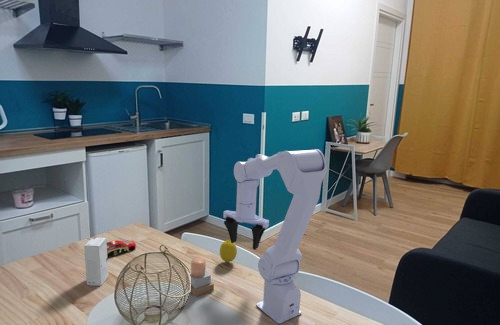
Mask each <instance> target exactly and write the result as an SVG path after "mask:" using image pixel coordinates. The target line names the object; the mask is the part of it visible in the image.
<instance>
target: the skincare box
mask: <svg viewBox="0 0 500 325" xmlns="http://www.w3.org/2000/svg"><path fill="white" fill-rule="evenodd" d="M106 243H107V237H92V238H90V239H89V240H88V241H87V242H86V244H84V246H83V249H84V250H83V251H84V261H85V262H84V264H85V265H84V266H85V277H86V285H87V286H92V287H94V286H98V287H99V286H102V285H104V283H105V281H106V280H107V279H108V277H109V264H108V263H109V262H108V261H109V260H108V259H109V258H107V244H106Z"/></svg>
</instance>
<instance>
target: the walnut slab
mask: <svg viewBox="0 0 500 325" xmlns="http://www.w3.org/2000/svg"><path fill="white" fill-rule="evenodd" d="M214 287H215V284H214V283H213V282H212V281H211V283H210V284H207V285H204V286H201V287H198V288H194V287H193V286H192V285H191V293H190V294H191V295H192V296H193V295H194V296H195V297H194V296H193V297H194V298H196V297H200V296H202V295H205V294H208V293H210V292H213V291H215V290H214Z"/></svg>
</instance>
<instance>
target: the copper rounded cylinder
mask: <svg viewBox="0 0 500 325" xmlns="http://www.w3.org/2000/svg"><path fill="white" fill-rule="evenodd" d="M206 263H207V262H206V259H205V258H202V257H196V258H193V259H192V260H191V261H190V271H191V276H192V277H194V278H201V277H204V276H205V271H206Z"/></svg>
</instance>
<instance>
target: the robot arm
mask: <svg viewBox="0 0 500 325" xmlns="http://www.w3.org/2000/svg"><path fill="white" fill-rule="evenodd" d="M328 169H329V168H328V165H327V161H326V157H325V154H323V152H322V151H321V150H320V149H318V148H317V149H316V148H314V149H308V150H307V149H306V150H303V149H302V150H290V151H289V150H284V151H278V152H277V153H275V154H273V155H272V156H267V155H263V154H262V153H261V154H259V153H258V154H256V155H255V158H253V157H250V158H248V159H247V160H246V161H237V162H236V163H235V164H234V167H233V176H234V178H235V181H236V205H235V207H236V209H235V211H234V210H228V209H227V210H224V211H223V213H222V215H223V217H222V218H223V219H225V220H224V221H223V224H224V226H225V228H226V229H227V230H226V231H228V235H229V240H230V241H231V243H236V242H237V239H238V227H239V223H245V224H250V225H254V226H253V227H252V228H251V232H252V250H257V249H258V248H259V244H260V241H261V240H262V236H263V234H264V233H265V231H266V229H267V228H269V226H270V220H269V219H265V218H264V217H261V216H259V215H257V214H256V213H257V212H256V211H257V210H256V208H257V192H258V187H259V185H260V180H261V179H262V178H266V177H269V176H270V175H272V173H273V171H274V170H277V171H278V172H279V175H280V176H281V179H282V182H283V183H284V185H285V188H286V190H287V192H289V193H290V194H292V195H293V197H292V199H291V202H290V204H289V207H288V209H287V212H286V214H285V217H284V219H283V223H282V225H281V227H280V230H279V233H278V235H277V238H276V240H275V243H274V244H273V245H272V246H270V247H268V248H267V249H265V251H264V252H263V254H262V255H261V256H260V257H259V259H258V262H257V268H258V272H259V275H260V276H261V278H262V279H263V280H264V283H263V300H261V301H259V302H256V305H255V306H256V307H258V308H259V309H260V310H261V311H262V312H263V313H265V314H266V315H267V316H268V317H270V318H271V319H272V320H273V321H274V322H276V323H277V324H282V323H284V322H286V321H288V320H290V319H292V318H296V317H297V316H299V315H301V314H302V311H301V310H300V306H301V304H300V303H301V294H302V292H301V289H299V287H298V286H297V285H296V284H295V282H294V279H295V278H296V274H298V273H299V272H300V270H301V262H302V261H301V260H302V258H303V254H302V252H301V250H300V249H299V246H300V244H301V242H302V239H303V237H304V235H305V232H306V230H307V227H308V225H309V223H310V221H311V219H312V216H313V214H314V211H315V209H316V207H317V205H318V202H319V201H320V197H321V196H320V195H321V188H322V184H323V181H324V178H325V176H326V174H327V171H328Z"/></svg>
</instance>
